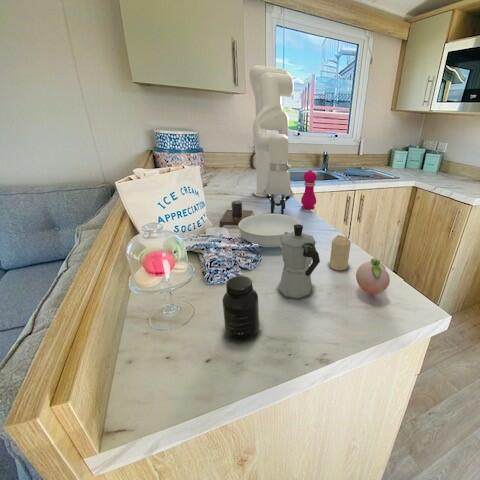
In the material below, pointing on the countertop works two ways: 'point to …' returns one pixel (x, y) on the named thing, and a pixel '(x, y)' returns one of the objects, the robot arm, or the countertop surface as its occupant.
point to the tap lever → (277, 201)
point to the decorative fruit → (372, 277)
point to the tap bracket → (273, 204)
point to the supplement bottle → (240, 309)
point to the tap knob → (237, 209)
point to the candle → (340, 253)
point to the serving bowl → (266, 228)
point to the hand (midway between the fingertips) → (278, 209)
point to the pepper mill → (309, 190)
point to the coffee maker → (297, 263)
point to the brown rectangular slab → (231, 220)
